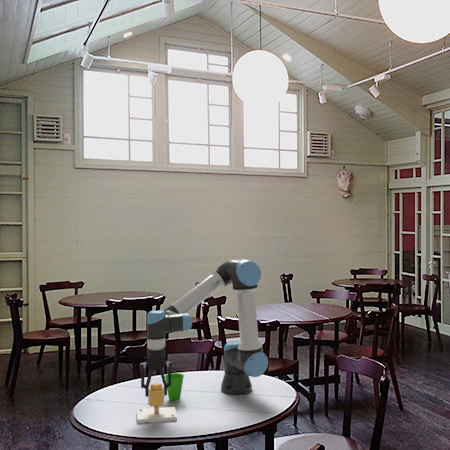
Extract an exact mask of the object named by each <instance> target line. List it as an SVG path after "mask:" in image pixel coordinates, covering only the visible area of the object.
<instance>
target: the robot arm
mask: <svg viewBox="0 0 450 450" xmlns="http://www.w3.org/2000/svg"><path fill="white" fill-rule="evenodd" d="M261 277H262V270H261V268H260V266H259V265H258V263H256V262H255V261H254V260H250V259H244V258H243V259H242V258H241V259H239V258H231V259H228V260H227V261H224V262H223V263H221V264H219V265H218V266H217V267H216V268H215V269H213V270H212V271H211V272H210V275H209V276H208V277H206V278H204V279H203V280H202V281H201V282H199V283H198V284H197V285H195V286H194V287H193V288H192V289H190V290H189V291H188V292H186V293H185V294H184V295H183V296H181V297H180V298H179V299H177V300H175V302H173V303H172V304H170V305H169V306H167V308H162V309H159V310H150V311H149V312H147V317H146V328H147V329H146V331H147V333H146V334H147V337H146V344H147V345H146V347H147V349H146V361H145V362H140V364H139V366H140V370H141V372H140V373H141V374H140V375H141V376H140V379H141V380H140V388H141V389H145V397H146V398H147V404H148V406H150V387H151V386H150V385H151V380H152V376H153V372H155V371H158V372H159V373H160V377H161V381H162V384H163V386H162V389H163V405H165V396H168V390H167V387H169V386H171V373H172V367H173V362H172V361H167V359H166V348H165V347H166V334H168V333H179V332H187V331H190V330H191V329H192V326H193V319H192V316H191V314H189V312H191V310H193V309H194V308H196V307H197V306H199V305H200V304H201V303H203V302H204V301H205V300H206V299H207V298H209V297H210V296H211V295H213V294H214V293H215V292H217V291H218V290H219V289H221V288H222V289H224V288H225V287H226V286H229V285H230V284H232V291H234V292H235V293H236V294H235V295H236V304H237V318H238V329H239V330H238V331H239V340H240V341H233V342H228V343H225V345H224V347H223V352H224V353H223V355H224V357H223V359H224V361H223V362H224V375H223V378H222V381H221V385H220V390H221V391H220V392H222V393H225V394H228V395H244V394H243V393H245V394H248V393H247V392H249V393H251V392H252V391H253V385H252V381H251V379H250V377H252V378H258V377H261V376H262V375H263V374H264V373H265V371H267V369H268V365H269V358H268V356H267V355H266V354H265V353H264V350H263V345H262V343H261V342H260V341H259V329H258V327H259V326H258V315H257V306H256V305H257V304H256V290H257V289H258V283H259V282H260V280H261ZM165 365H166V367H167V374H168V383H166V378H165V373H164V371H163V370H164V369H163V368H164V366H165ZM146 367H148V369H149V372H148V375H147V378H146V382H145V369H146ZM251 390H252V391H251Z"/></svg>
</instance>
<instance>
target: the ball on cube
mask: <svg viewBox="0 0 450 450" xmlns="http://www.w3.org/2000/svg"><path fill="white" fill-rule="evenodd" d="M162 384H163V383H162ZM162 384H161V383H158V382H156V383H150V386H149V387H150V405H149V407H150V408H152V407H153V408H154V406H159V407H162V406H164V404H163V389H162V387H163V385H162Z"/></svg>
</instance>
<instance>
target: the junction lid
mask: <svg viewBox="0 0 450 450" xmlns="http://www.w3.org/2000/svg"><path fill="white" fill-rule="evenodd" d="M136 411H137V412H136V413H137V414H136V415H137V416H136V418H137V420H136V421H137V423H138V424H146V423H145V422H151V423H162V422H176V421H177V420H178V416H177V411H176V408H175V406H168V407H160V406H153V408H152V407H150V408H140V409H136Z"/></svg>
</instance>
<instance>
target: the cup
mask: <svg viewBox="0 0 450 450" xmlns="http://www.w3.org/2000/svg"><path fill="white" fill-rule="evenodd" d="M184 376H185V375H184V374H183V373H179V372H173V373H172V372H171V386H169V387H167V397H168V400H169V401H170V402H179V401H180V400H181V396H182V390H183V389H182V388H183V381H184ZM164 377H165V380H166V383H168V373H167V374H164Z"/></svg>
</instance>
